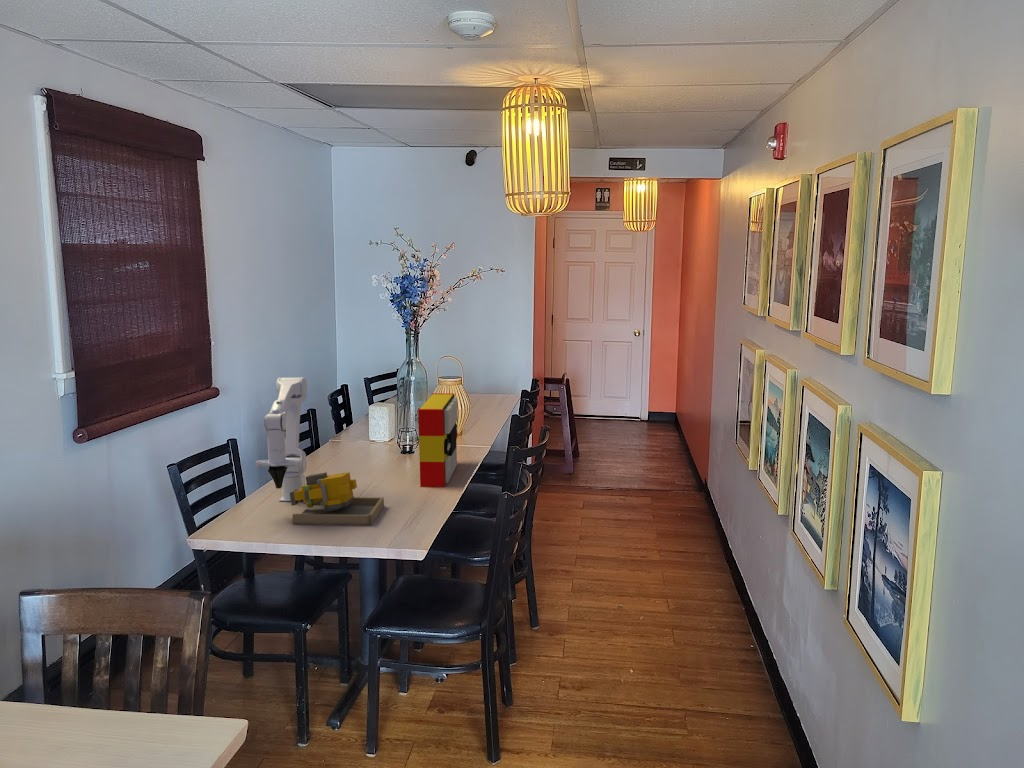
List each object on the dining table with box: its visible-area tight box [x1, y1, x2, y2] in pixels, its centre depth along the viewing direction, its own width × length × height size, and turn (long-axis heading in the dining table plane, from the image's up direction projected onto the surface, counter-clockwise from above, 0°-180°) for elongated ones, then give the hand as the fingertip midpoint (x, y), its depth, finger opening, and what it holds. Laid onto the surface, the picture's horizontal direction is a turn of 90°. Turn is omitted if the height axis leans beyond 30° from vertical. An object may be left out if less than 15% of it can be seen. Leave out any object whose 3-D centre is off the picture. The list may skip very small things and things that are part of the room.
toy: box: [290, 471, 358, 512], centre depth 262 cm, size 14×13×20 cm
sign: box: [417, 392, 459, 488], centre depth 305 cm, size 33×11×30 cm, turn 176°
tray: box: [292, 496, 385, 526], centre depth 261 cm, size 19×26×3 cm
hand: (279, 487), depth 261 cm, fingers closed
